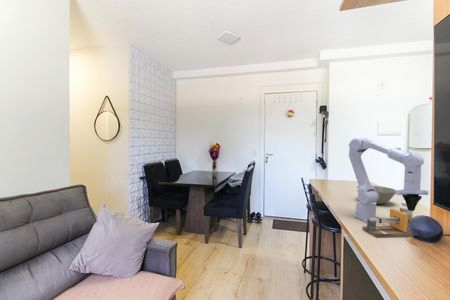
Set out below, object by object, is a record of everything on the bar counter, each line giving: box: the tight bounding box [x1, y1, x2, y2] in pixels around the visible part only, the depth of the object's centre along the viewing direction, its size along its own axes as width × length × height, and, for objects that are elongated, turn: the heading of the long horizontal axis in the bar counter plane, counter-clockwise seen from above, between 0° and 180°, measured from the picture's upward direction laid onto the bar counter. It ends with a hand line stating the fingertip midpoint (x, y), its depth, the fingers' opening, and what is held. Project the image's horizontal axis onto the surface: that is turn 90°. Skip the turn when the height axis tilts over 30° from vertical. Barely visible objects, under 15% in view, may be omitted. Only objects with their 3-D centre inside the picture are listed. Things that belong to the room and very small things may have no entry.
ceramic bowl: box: [357, 185, 396, 205], centre depth 153 cm, size 22×23×10 cm
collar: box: [388, 208, 408, 232], centre depth 103 cm, size 8×2×8 cm, turn 4°
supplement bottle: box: [399, 200, 414, 219], centre depth 119 cm, size 5×5×10 cm
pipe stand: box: [361, 216, 413, 239], centre depth 103 cm, size 9×20×7 cm, turn 94°
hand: (410, 210), depth 103 cm, fingers closed
